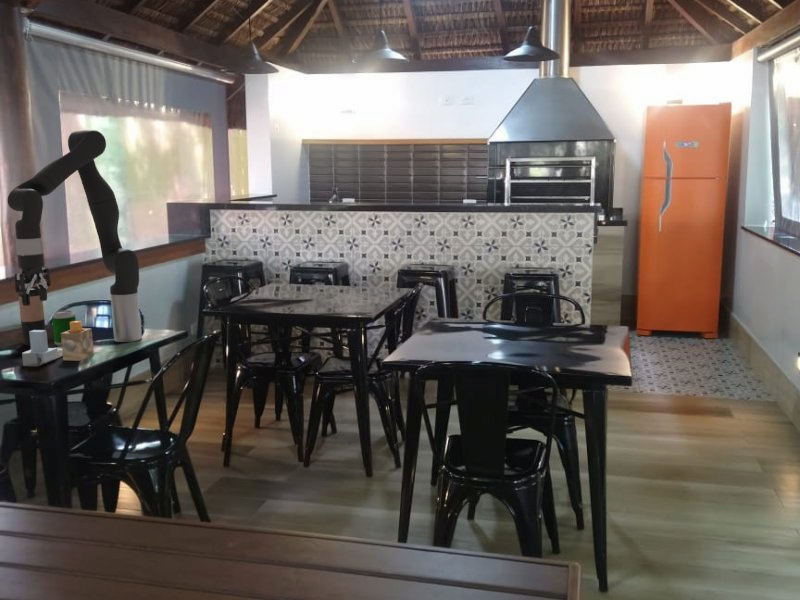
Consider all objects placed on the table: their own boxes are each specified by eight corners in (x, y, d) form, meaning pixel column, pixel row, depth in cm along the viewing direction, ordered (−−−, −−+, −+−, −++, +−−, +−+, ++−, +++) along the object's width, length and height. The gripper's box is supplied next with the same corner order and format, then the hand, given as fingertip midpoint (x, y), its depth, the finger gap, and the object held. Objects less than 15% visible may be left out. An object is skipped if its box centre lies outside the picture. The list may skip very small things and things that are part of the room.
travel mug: (37, 346, 267) (31, 290, 264) (18, 345, 269) (12, 289, 265) (51, 341, 275) (46, 286, 271) (32, 340, 276) (27, 286, 273)
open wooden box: (77, 354, 255) (75, 328, 253) (94, 354, 254) (92, 328, 252) (62, 360, 247) (60, 333, 245) (80, 361, 246) (78, 334, 244)
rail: (65, 348, 263) (64, 337, 262) (78, 349, 262) (77, 338, 261) (23, 366, 241) (22, 353, 240) (37, 366, 240) (36, 354, 239)
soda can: (81, 344, 269) (78, 311, 266) (59, 348, 263) (56, 314, 261) (72, 341, 274) (69, 308, 272) (51, 345, 269) (48, 311, 267)
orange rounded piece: (75, 335, 251) (73, 320, 251) (85, 335, 251) (83, 320, 250) (68, 337, 248) (67, 323, 247) (78, 338, 247) (77, 323, 246)
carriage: (36, 356, 249) (34, 328, 248) (57, 357, 248) (55, 328, 246) (23, 362, 242) (20, 333, 241) (44, 362, 241) (41, 333, 240)
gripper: (33, 250, 247) (38, 299, 249) (4, 255, 233) (9, 307, 236) (54, 250, 245) (59, 299, 248) (26, 255, 231) (31, 307, 234)
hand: (35, 303), depth 242 cm, fingers open, 8 cm apart
